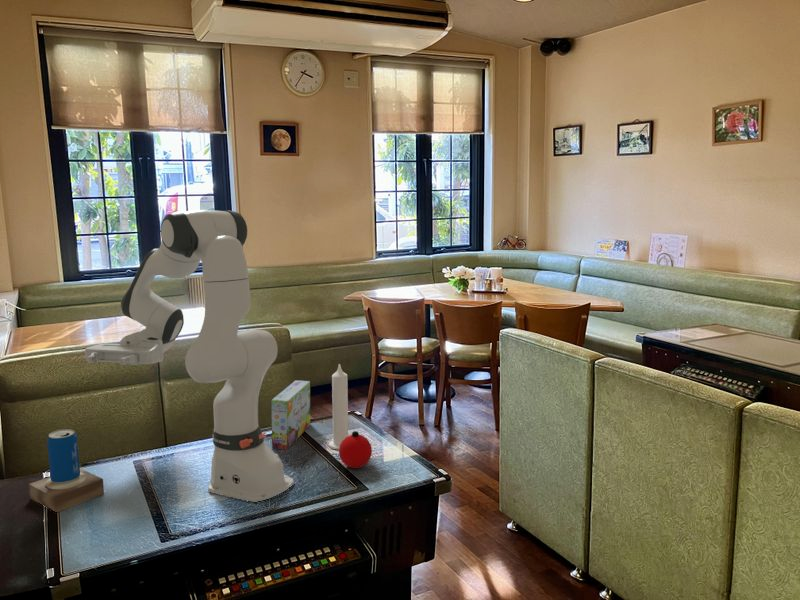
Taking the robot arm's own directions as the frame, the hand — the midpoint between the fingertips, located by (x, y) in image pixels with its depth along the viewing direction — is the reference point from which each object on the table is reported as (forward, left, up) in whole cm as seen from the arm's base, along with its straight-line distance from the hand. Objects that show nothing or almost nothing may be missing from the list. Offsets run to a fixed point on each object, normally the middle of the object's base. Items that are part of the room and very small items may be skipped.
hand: (105, 361), depth 170 cm
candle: (-41, -48, -30) cm, 70 cm away
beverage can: (-6, +16, -26) cm, 31 cm away
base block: (-7, +16, -30) cm, 35 cm away
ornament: (-54, -39, -30) cm, 73 cm away
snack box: (-24, -45, -30) cm, 59 cm away
